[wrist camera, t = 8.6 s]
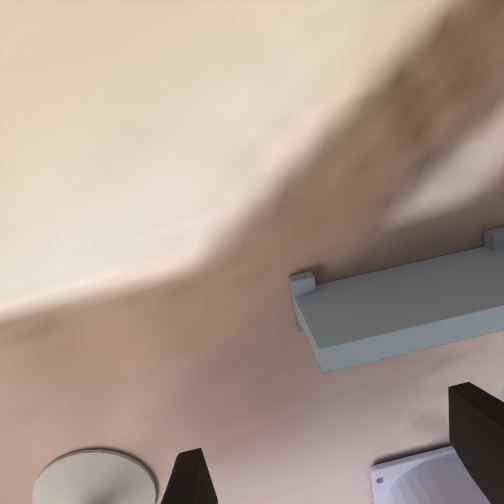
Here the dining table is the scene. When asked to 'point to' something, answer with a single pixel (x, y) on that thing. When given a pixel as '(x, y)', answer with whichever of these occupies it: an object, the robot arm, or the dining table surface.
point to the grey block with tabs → (403, 306)
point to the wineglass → (94, 480)
